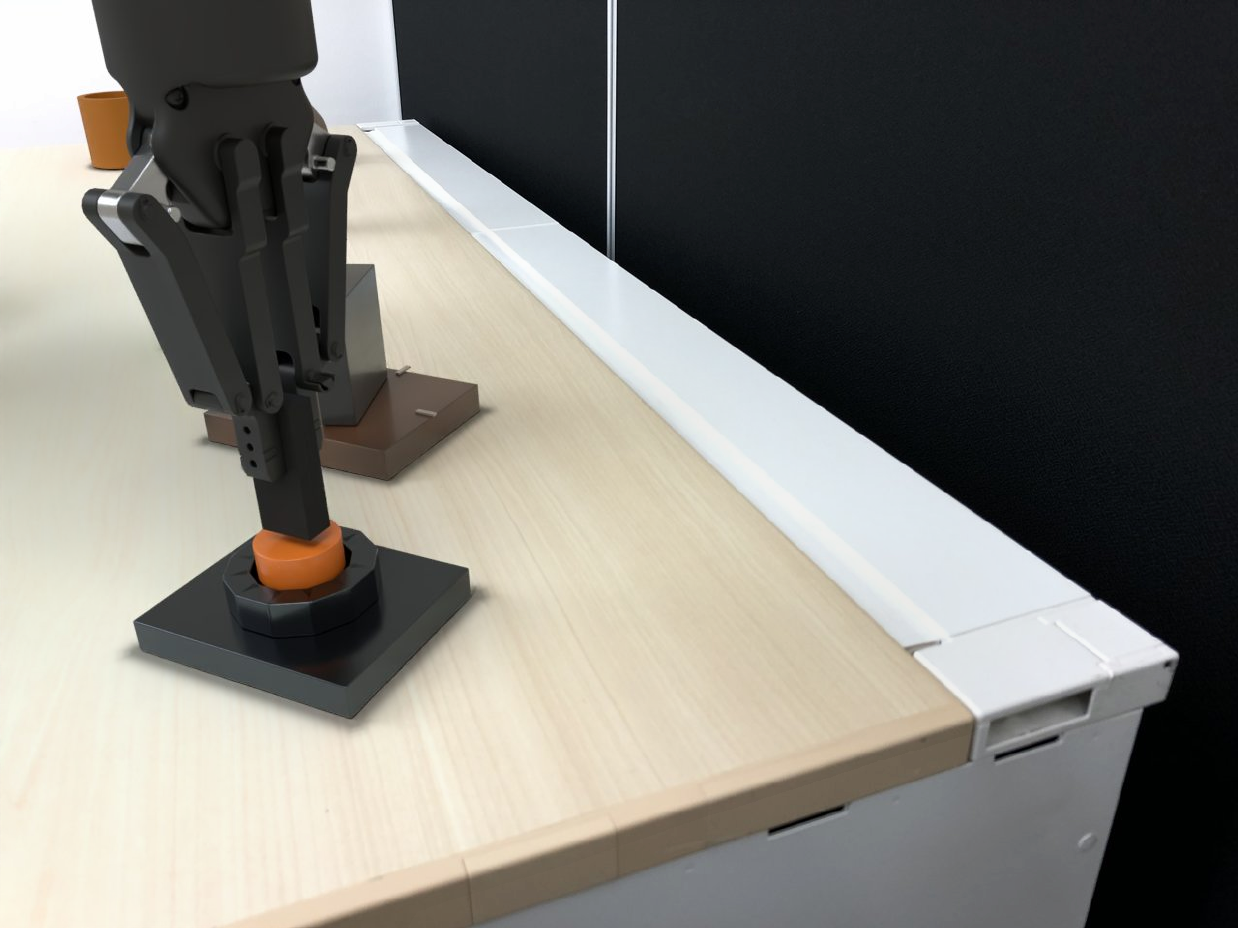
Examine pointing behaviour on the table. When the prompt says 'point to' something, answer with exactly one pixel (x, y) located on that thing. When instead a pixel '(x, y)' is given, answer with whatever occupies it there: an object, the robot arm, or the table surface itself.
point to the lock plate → (385, 424)
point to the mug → (106, 127)
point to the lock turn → (356, 352)
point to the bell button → (298, 558)
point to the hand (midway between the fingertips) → (296, 526)
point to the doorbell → (308, 623)
